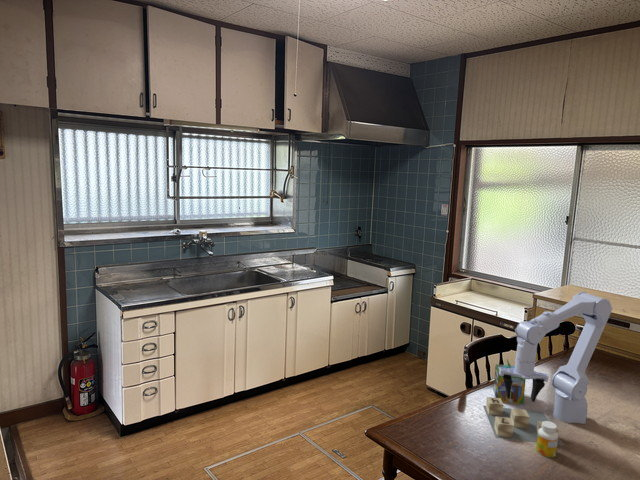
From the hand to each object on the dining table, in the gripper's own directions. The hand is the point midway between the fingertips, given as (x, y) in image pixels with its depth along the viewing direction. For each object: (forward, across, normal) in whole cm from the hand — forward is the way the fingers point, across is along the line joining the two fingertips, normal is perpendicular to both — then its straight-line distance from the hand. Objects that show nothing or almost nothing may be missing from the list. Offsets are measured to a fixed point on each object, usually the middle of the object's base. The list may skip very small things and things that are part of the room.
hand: (520, 398), depth 151 cm
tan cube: (+9, +7, -6) cm, 13 cm away
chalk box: (+10, +1, +19) cm, 22 cm away
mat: (+10, +1, 0) cm, 10 cm away
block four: (+9, -6, +6) cm, 12 cm away
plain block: (+9, +1, 0) cm, 9 cm away
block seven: (+9, -6, -7) cm, 13 cm away
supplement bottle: (+10, +5, -14) cm, 18 cm away
